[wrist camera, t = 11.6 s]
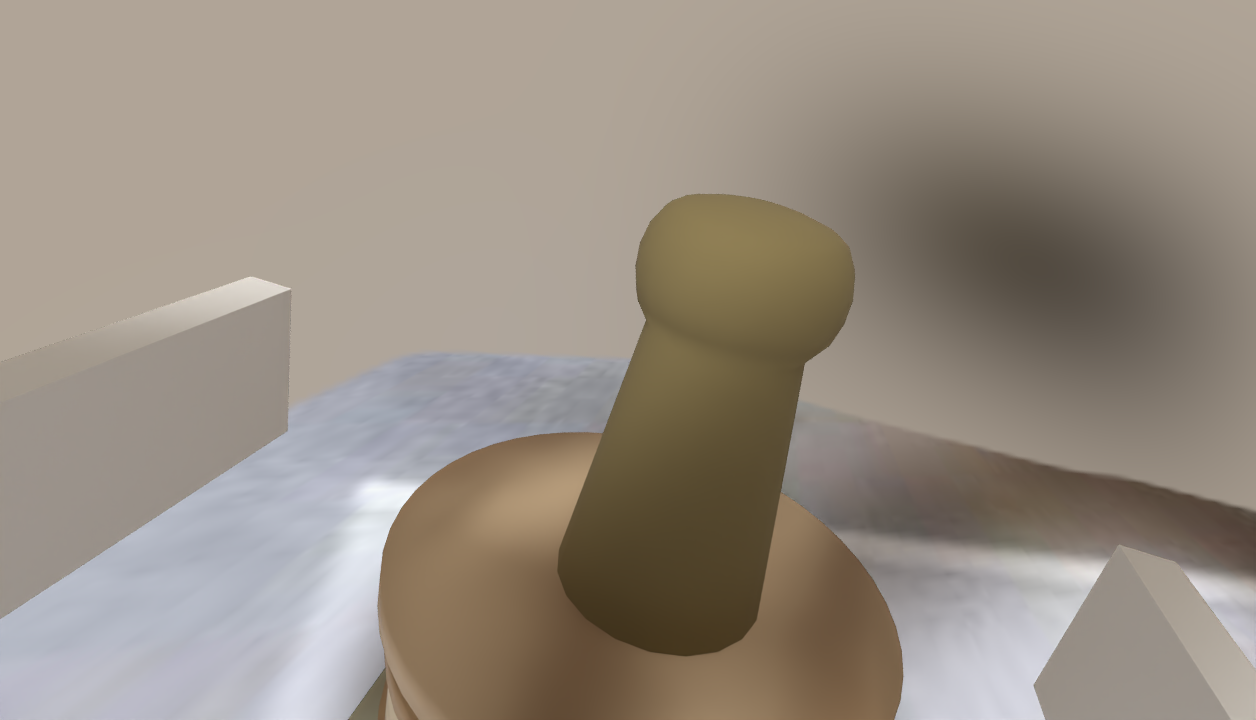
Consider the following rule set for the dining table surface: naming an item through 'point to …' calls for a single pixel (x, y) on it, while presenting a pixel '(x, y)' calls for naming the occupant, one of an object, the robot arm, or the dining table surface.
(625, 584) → the cork
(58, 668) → the dining table surface
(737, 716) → the stack of pancakes
